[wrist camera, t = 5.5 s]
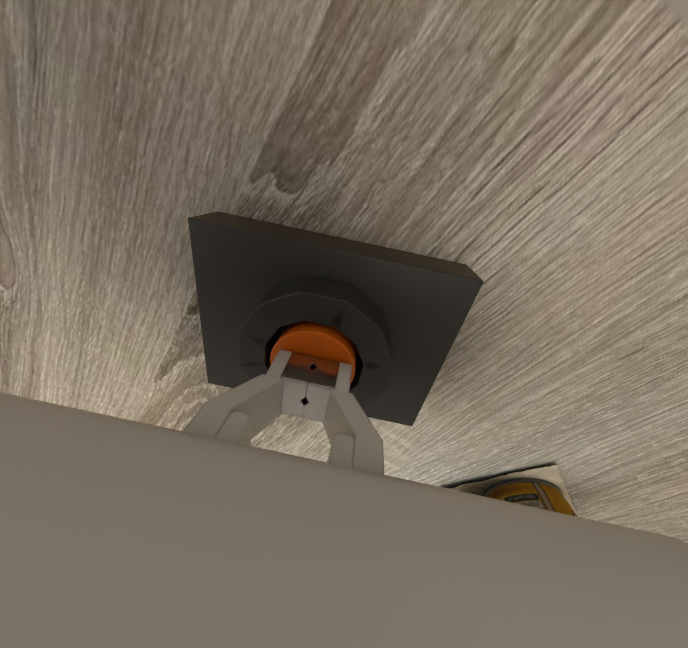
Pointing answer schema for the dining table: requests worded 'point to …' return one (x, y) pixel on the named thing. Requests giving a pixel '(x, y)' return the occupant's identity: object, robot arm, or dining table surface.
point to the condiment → (527, 489)
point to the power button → (317, 343)
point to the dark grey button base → (327, 306)
